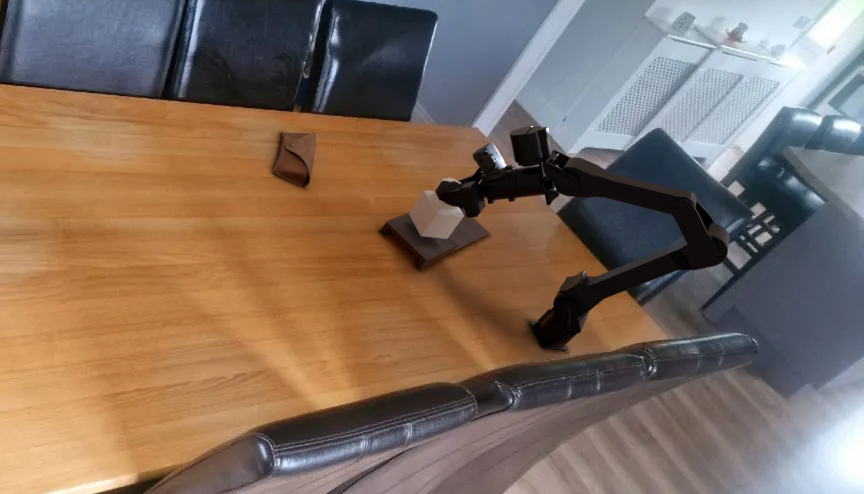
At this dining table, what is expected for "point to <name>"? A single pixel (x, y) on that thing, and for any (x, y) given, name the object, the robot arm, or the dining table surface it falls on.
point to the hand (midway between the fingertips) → (443, 191)
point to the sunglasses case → (296, 157)
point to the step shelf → (434, 247)
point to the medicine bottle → (436, 212)
